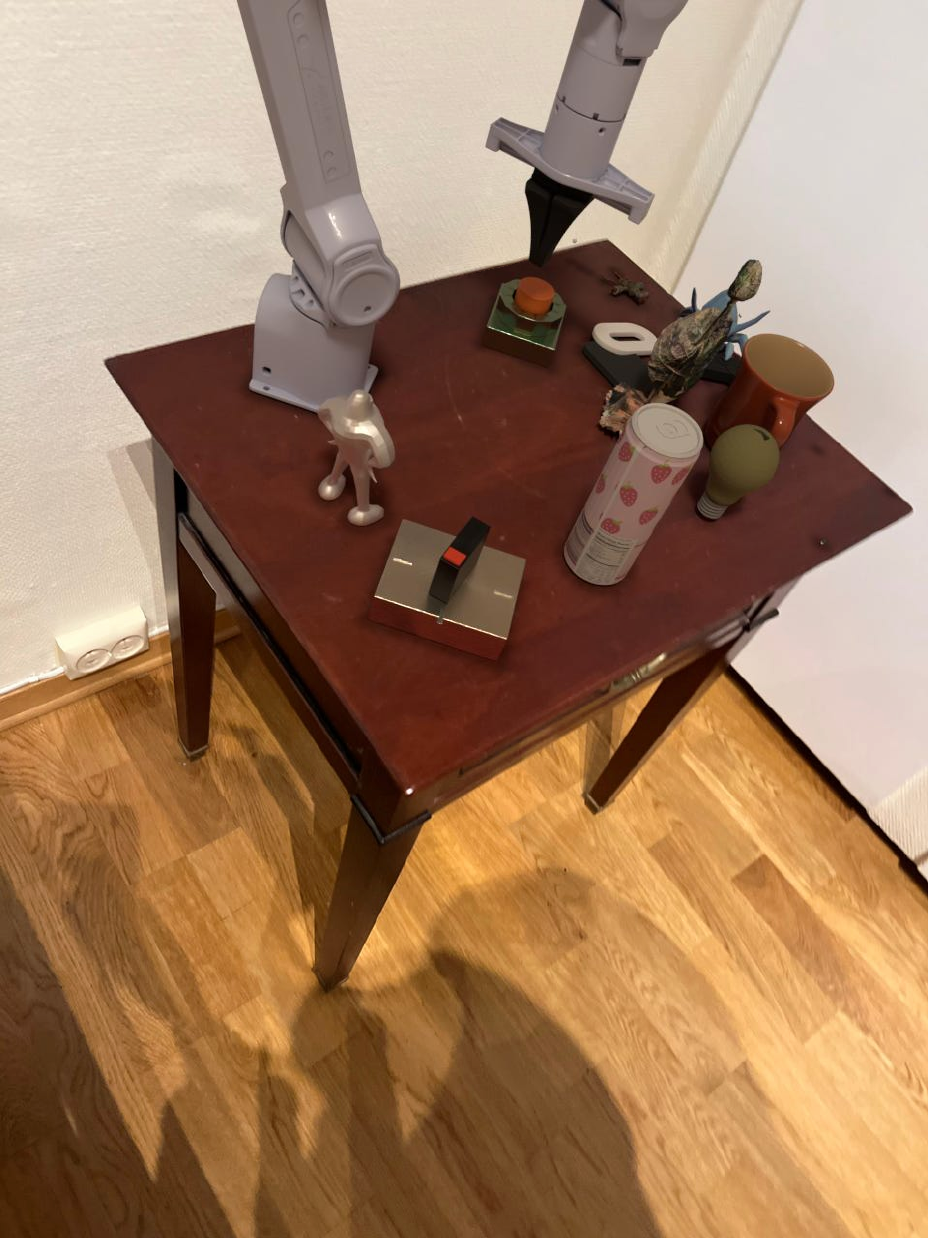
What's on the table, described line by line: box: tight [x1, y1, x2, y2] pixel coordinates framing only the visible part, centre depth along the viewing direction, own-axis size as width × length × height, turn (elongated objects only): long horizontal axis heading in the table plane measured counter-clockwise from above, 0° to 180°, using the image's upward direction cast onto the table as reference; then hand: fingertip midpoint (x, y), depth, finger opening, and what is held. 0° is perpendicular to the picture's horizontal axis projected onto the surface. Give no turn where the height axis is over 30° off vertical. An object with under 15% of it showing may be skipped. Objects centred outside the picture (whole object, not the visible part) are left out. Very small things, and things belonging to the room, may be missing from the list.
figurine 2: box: [676, 286, 771, 385], centre depth 92 cm, size 10×12×8 cm
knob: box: [429, 516, 492, 603], centre depth 63 cm, size 5×2×4 cm, turn 152°
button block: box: [480, 279, 567, 368], centre depth 87 cm, size 7×8×4 cm
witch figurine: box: [572, 238, 650, 303], centre depth 98 cm, size 5×12×2 cm, turn 38°
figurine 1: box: [317, 390, 396, 527], centre depth 65 cm, size 7×4×12 cm, turn 49°
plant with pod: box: [598, 258, 763, 436], centre depth 77 cm, size 8×11×20 cm
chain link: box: [591, 322, 658, 356], centre depth 91 cm, size 8×1×5 cm
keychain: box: [581, 337, 675, 405], centre depth 88 cm, size 5×1×10 cm
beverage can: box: [563, 403, 704, 586], centre depth 67 cm, size 6×6×15 cm
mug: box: [704, 333, 835, 453], centre depth 81 cm, size 12×9×10 cm
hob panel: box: [368, 518, 527, 662], centre depth 66 cm, size 10×9×3 cm
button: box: [515, 276, 556, 314], centre depth 85 cm, size 4×4×2 cm
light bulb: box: [696, 424, 780, 520], centre depth 76 cm, size 6×6×10 cm
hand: (539, 259), depth 78 cm, fingers closed
